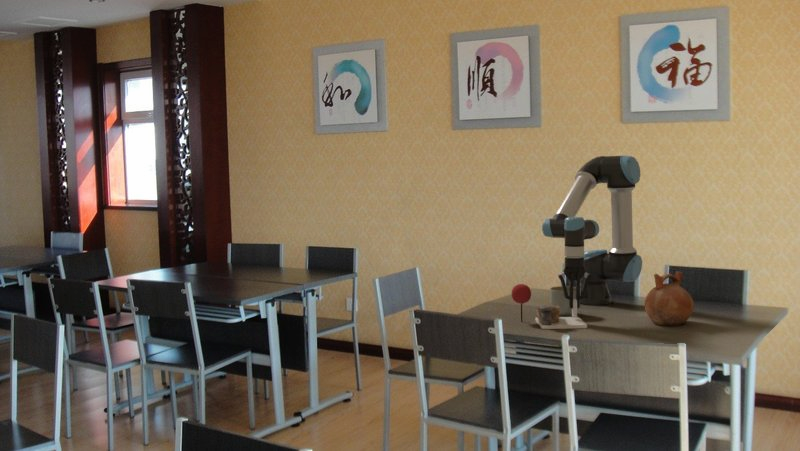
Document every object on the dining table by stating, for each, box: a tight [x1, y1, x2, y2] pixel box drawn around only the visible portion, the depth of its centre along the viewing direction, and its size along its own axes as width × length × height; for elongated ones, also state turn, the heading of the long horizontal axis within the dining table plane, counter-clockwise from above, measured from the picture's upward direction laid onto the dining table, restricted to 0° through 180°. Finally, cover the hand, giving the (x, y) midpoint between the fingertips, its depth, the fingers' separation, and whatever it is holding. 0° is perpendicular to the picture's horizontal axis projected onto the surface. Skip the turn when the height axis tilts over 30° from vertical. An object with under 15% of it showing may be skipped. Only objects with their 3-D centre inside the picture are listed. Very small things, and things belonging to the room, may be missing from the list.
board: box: [534, 316, 588, 330], centre depth 318 cm, size 17×16×1 cm
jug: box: [644, 271, 695, 327], centre depth 316 cm, size 18×18×20 cm
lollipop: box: [511, 283, 532, 322], centre depth 324 cm, size 8×8×15 cm
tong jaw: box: [539, 305, 560, 322], centre depth 317 cm, size 8×16×6 cm, turn 175°
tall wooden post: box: [536, 306, 551, 325], centre depth 318 cm, size 4×15×6 cm, turn 0°
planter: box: [549, 285, 581, 317], centre depth 336 cm, size 12×12×11 cm
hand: (574, 316), depth 320 cm, fingers closed
